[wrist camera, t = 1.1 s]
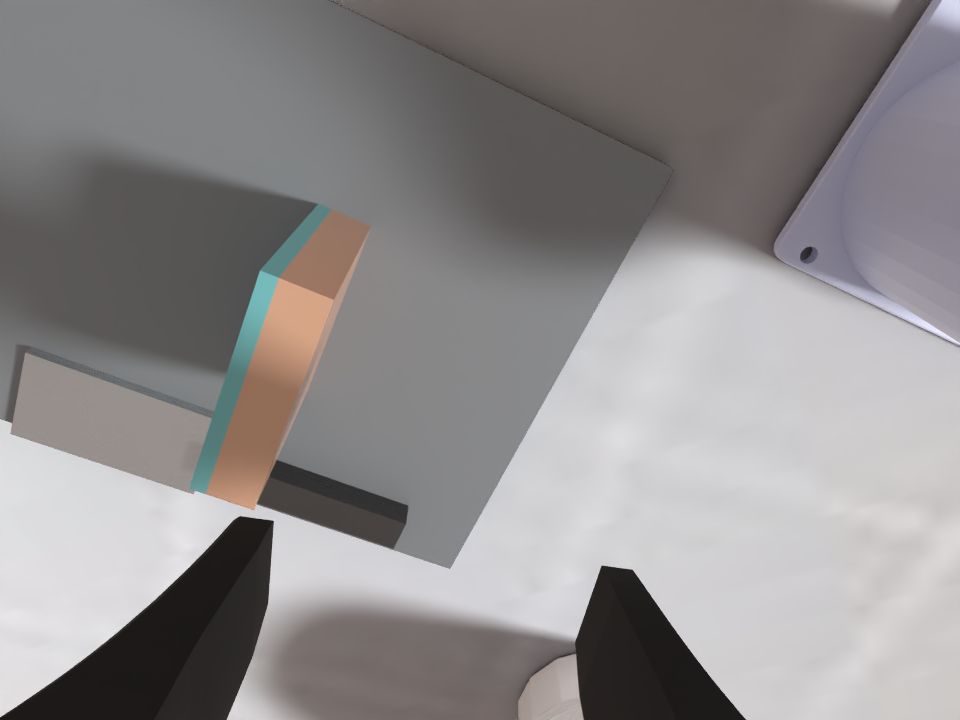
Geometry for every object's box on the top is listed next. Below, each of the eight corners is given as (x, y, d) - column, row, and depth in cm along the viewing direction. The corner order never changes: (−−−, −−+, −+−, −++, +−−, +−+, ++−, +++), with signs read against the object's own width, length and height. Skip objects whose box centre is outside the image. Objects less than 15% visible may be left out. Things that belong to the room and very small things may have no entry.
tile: (371, 226, 20) (334, 300, 14) (306, 392, 22) (253, 509, 17) (318, 203, 19) (260, 270, 14) (258, 374, 22) (189, 488, 16)
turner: (419, 484, 24) (417, 502, 23) (386, 550, 25) (383, 569, 24) (32, 347, 21) (13, 361, 20) (17, 427, 22) (-2, 443, 22)
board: (668, 165, 20) (674, 169, 19) (450, 557, 26) (450, 568, 25) (21, -151, 16) (5, -158, 16) (-50, 389, 22) (-63, 398, 22)
